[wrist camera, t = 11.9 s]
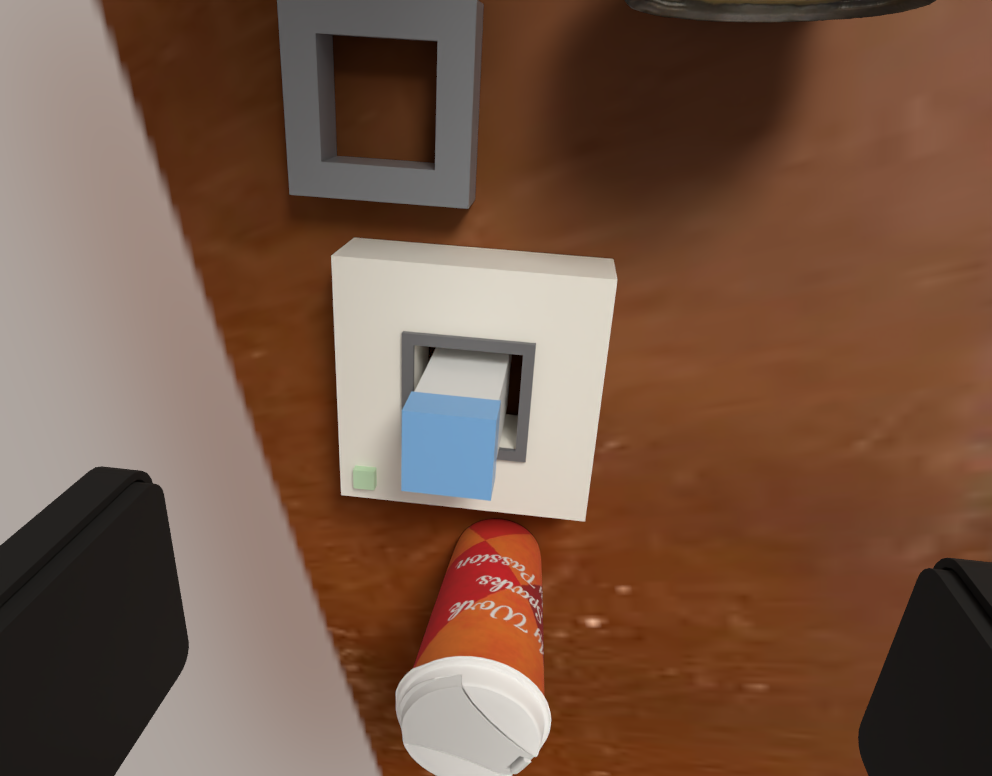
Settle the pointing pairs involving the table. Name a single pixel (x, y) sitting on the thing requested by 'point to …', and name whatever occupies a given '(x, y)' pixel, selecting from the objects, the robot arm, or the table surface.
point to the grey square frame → (311, 99)
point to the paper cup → (481, 660)
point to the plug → (455, 424)
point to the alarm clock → (773, 9)
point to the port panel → (478, 327)
